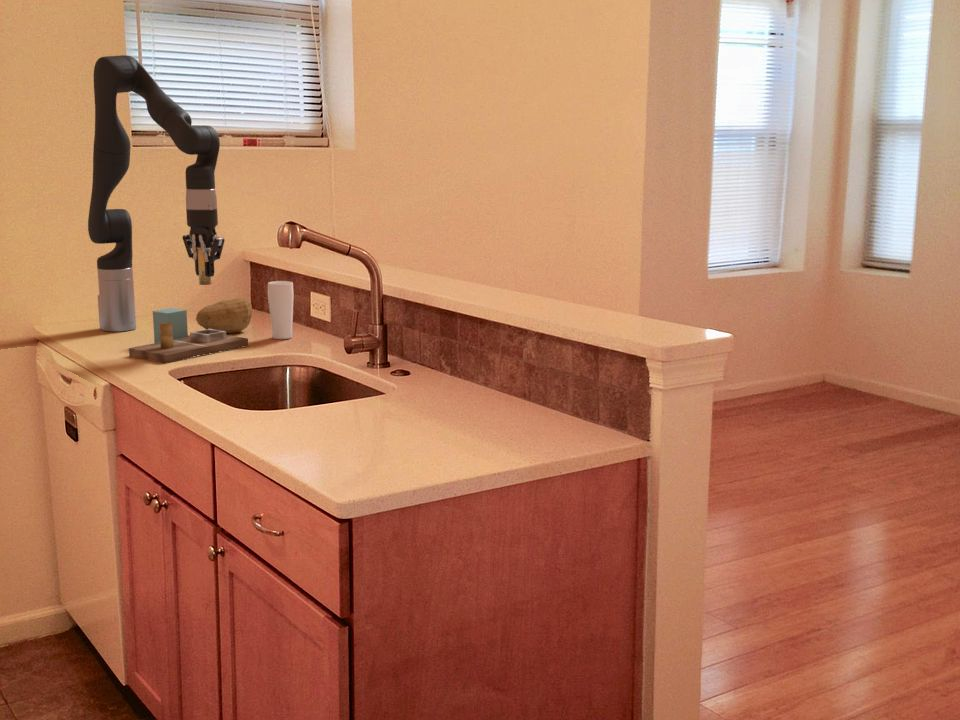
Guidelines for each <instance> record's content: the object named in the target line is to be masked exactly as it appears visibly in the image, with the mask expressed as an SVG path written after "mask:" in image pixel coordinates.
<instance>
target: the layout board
mask: <svg viewBox="0 0 960 720" xmlns="http://www.w3.org/2000/svg"><path fill="white" fill-rule="evenodd" d="M159 325H160V342H159V343H155V342H154V343H149V344H145V345H139V346H133V347H129V348H128V352H129V353H128V354H129V357H132V358H136V359H137V358H138V359H143V360H146V361H147V360H148V361H154V362H158V363H164V364H169V363H174V362H179V361H183V359H184V360H188V359H187V358H189V359H191V358H190V357H193V356H197V355H203V354H208V355H210V354H209V353H213V354H216V353H215V352H218V353H220V352H219V351H223V352H225V351H224V350H227V351H229V350H228V349H232V350H234V349H233V348H237V349H239V348H238V347H242V346H247V345H248V346H249V338H247V337H240V336H235V335H229V334H227V333H226V331H220V330H214V329H202V330H201V329H200V330H194V331H190V332H189V336H188V337H185V338H180V339H175V340H173V330H172V323H160V324H159ZM248 346H247V347H248ZM242 348H243V347H242ZM203 356H204V355H203Z"/></svg>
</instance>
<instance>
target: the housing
mask: <svg viewBox="0 0 960 720" xmlns="http://www.w3.org/2000/svg"><path fill="white" fill-rule="evenodd" d="M187 313H188V312H187V310H186V309H180V308H173V307H171V308H169V307H168V308H163V309H158V310H153V311H152V321H153V334H154V335H153V337H154V339H153V340H154V343H159V342H160V325H159V324H160V323H172V330H173V340H175V339H180V338H185V337H189V336H188V335H189V333H188V330H189V329H188V314H187Z"/></svg>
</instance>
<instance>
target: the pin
mask: <svg viewBox="0 0 960 720" xmlns="http://www.w3.org/2000/svg"><path fill="white" fill-rule="evenodd" d="M206 249H210V248H206ZM197 252H198V271H199V276H198V284H199V286H208V285H212V277H206V276H205V262H206V261H205V258H204V253H202V249H201V248H198V249H197ZM208 254H209V256H210V252H209V253H208Z"/></svg>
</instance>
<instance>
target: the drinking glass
mask: <svg viewBox="0 0 960 720" xmlns="http://www.w3.org/2000/svg"><path fill="white" fill-rule="evenodd" d="M294 293H295V292H294V283H293V281H289V280H276V281H268V282H267V301H268V310H269V317H270V325H271V337H272V338H273V339H274V340H289V339H291V338H292V337H293V322H294V321H293V319H294V318H293V317H294V300H295V298H294V297H295V296H294Z"/></svg>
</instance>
